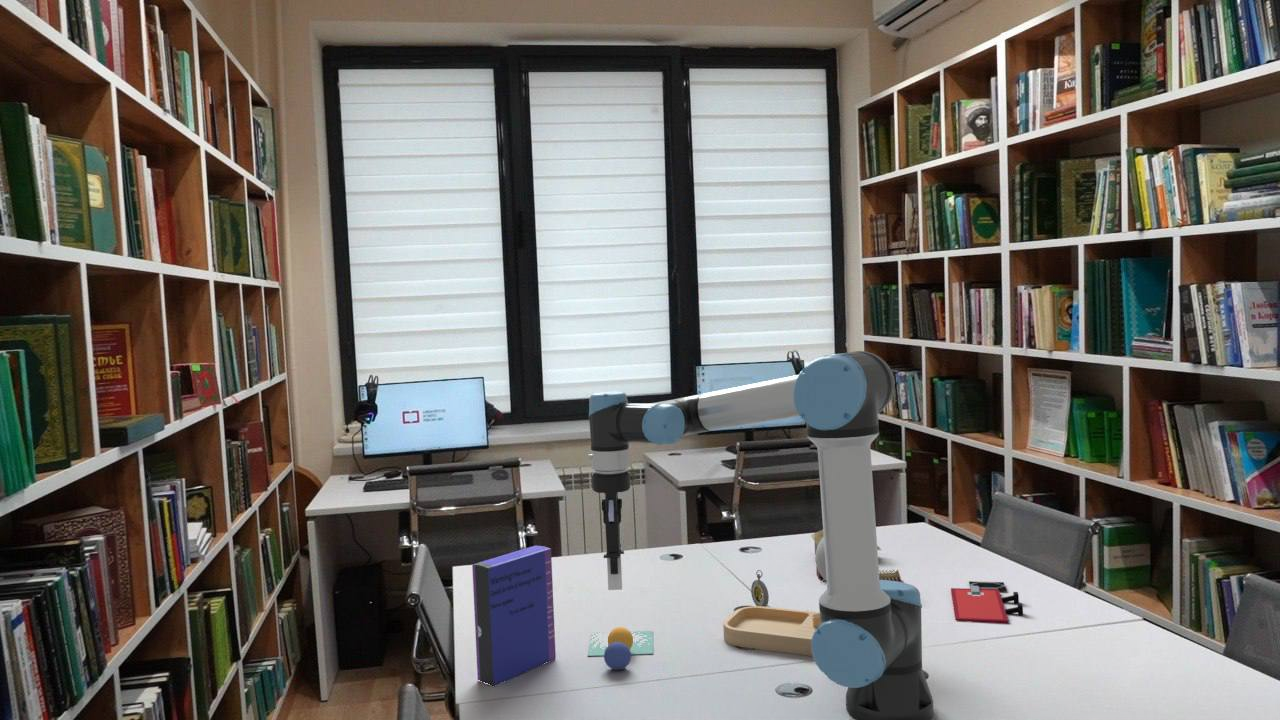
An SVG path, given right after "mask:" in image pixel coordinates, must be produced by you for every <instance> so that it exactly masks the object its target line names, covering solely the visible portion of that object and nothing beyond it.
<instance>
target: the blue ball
mask: <svg viewBox="0 0 1280 720" xmlns="http://www.w3.org/2000/svg"><path fill="white" fill-rule="evenodd" d="M631 658H632V655H631V653H630V650H629V648H628V647H627V646H626V645H625V644H624V643H621V642H614V643H611V644H610V645H609V646H608V647H607V648H606V650H605V653H604V656H603V659H604V662H605V665H606V666H607V667H608V668H609V669H612V670H614V671H621V670H624V669H625V668H627V666H628V665H629V664H630V662H631Z"/></svg>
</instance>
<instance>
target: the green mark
mask: <svg viewBox="0 0 1280 720" xmlns="http://www.w3.org/2000/svg"><path fill="white" fill-rule="evenodd" d="M638 632H640V633H638ZM596 633H597V634H598V633H599V632H596ZM602 633H603V632H602ZM606 633H607V631H606ZM633 633H636V634H635V635H638V634H643V635H639V636H644V635H647V637H642V638H643V639H647V640H648V641H644V642H645V643H641V644H642V645H639V646H641V647H639V646H638V645H637V644H639V643H640V641H641V640H643V639H639V641H636V643H635V642H633V645H632V647H631V649H630V653H631V656H639V655H640V654H641V656H643V655H644V654H648V655H654V631H653V630H639V631H638V630H635V631H634V630H633ZM633 633H631V634H633ZM603 634H604V633H603ZM594 635H596V634H594ZM591 636H593V635H591V634H590V637H591ZM596 637H597V636H596ZM594 638H595V637H593V639H594ZM634 638H635V637H634ZM649 638H651V639H649ZM591 640H592V639H591V638H590V640H589V642H590V641H591ZM598 640H599V638H598ZM598 640H596V642H597V641H598ZM596 642H595V641H593V643H591V644H590V643H589V645H588V652H587V657H588V656H591V657H604V653H605V650H606V648H607V646H605V645H604V646H605V647H602V648H604V649H602V648H600V644H601V643H600V642H599V644H597V645H598V646H596V648H595V647H593V645H594V644H595V643H596ZM602 642H603V641H602ZM649 643H650V644H649ZM648 644H649V645H648ZM592 647H593V648H594V649H593V648H592ZM590 650H591V651H590Z"/></svg>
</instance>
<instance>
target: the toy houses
mask: <svg viewBox="0 0 1280 720" xmlns="http://www.w3.org/2000/svg"><path fill="white" fill-rule="evenodd" d="M810 536H811V538H812V539H813V542H814V555H815V554H816V549H817V546H818V544H819V542H820V541H821V539H822V538H823V537H824V534H823V528H822V529H820V530H818V531H815V532H814V533H812V534H811V535H810ZM877 551H882V549H881V547H880V546H878V545H877ZM815 566H816V565H815ZM815 571H816V576H817V578H818V580H819V581H826V580H825V579H824V578H823V577H822V576H821V574H820V573H819V571H818V569H817V566H816V570H815ZM879 580H890V581H897V582H903V583H905V581H904V580H903V579H902V578H901V574H900V571H899V569H897V570H895V569H890V570H888V569H886V570H885V569H883V570H881V569H879Z"/></svg>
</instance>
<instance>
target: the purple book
mask: <svg viewBox="0 0 1280 720" xmlns="http://www.w3.org/2000/svg"><path fill="white" fill-rule="evenodd" d="M552 560H553V559H552V548H549V547H547V546H543V545H533V546H529V547H526V548H522V549H519V550H516V551H512V552H509V553H506V554H503V555H500V556H496V557H493V558H489V559H486V560H483V561H480V562H476V563H472V565H471V566H472V567H471V568H472V569H471V570H472V587H473V609H474V628H475V631H474V632H475V651H476V652H475V653H476V669H477V671H476V672H477V681H478V680H480V681H482V682H485V683H488V684H490V685H492V687H493V686H494V687H496V686H495V685H497V686H499V685H501V684H503V683H505V682H504V681H506V682H508V681H510V680H512V679H514V677H515V678H517V677H519V676H520V675H523V673H524V674H526V673H528V672H530V671H533V670H534V668H535V669H537V668H539V667H541V666H543V665H542V664H544V663H546V662H548V663H550V662H552V661H551V660H553V659H555V658H556V659H557V657H556V656H557V655H556V654H557V653H556V636H555V635H556V634H555V633H556V632H555V613H554V611H555V610H554V608H555V607H554V590H553V589H554V587H553V583H554V582H553V565H552V564H553V563H552ZM556 659H555V660H556ZM549 661H550V662H549ZM553 661H554V660H553ZM546 664H547V663H546ZM540 665H541V666H540ZM544 665H545V664H544ZM538 666H539V667H538ZM536 667H537V668H536ZM532 669H533V670H532ZM529 670H530V671H529ZM527 671H528V672H527ZM525 672H526V673H525ZM516 676H517V677H516ZM509 679H510V680H509ZM507 680H508V681H507ZM502 682H503V683H502ZM500 683H501V684H500ZM498 684H499V685H498ZM490 685H489V686H490Z"/></svg>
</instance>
